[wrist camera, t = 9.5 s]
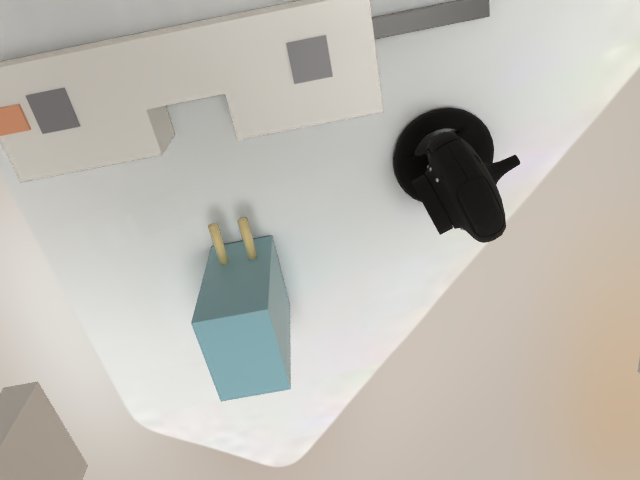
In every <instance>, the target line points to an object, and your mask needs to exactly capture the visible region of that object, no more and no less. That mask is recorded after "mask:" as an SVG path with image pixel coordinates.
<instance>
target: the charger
mask: <svg viewBox="0 0 640 480" xmlns="http://www.w3.org/2000/svg"><path fill="white" fill-rule="evenodd" d="M238 224H239V227H240V231H241V234H242V238H243V241H240V242H235V243H230V244H224V243H223V240H222V237H221V234H220V230H219V227H218V224H217V223H212V224H210V225H209V226H208V228H209V231H210V234H211V237H212V240H213V243H214V246H213V247H211V250H210V254H209V258H208V262H207V266H206V269H205V273H204V277H203V281H202V285H201V288H200V292H199V296H198V300H197V304H196V307H195V311H194V315H193V319H192V323H191V324H192V326H193V329H194V332H195V334H196V337H197V340H198V342H199V345H200V348H201V350H202V353H203V355H204V358H205V361H206V363H207V366H208V369H209V371H210V374H211V377H212V379H213V382H214V385H215V387H216V390H217V392H218V395H219V398H220V400H221V401H226V400H231V399H237V398H243V397H248V396H254V395H260V394H266V393H271V392H277V391H283V390H288V389H291V374H290V303H289V299H288V295H287V292H286V288H285V284H284V280H283V276H282V272H281V268H280V264H279V260H278V257H277V253H276V249H275V245H274V241H273V237H272V236H267V237H262V238H256V239H253V238H252V235H251V231H250V227H249V224H248V220H247V218H246V217H243V218H240V219H238Z"/></svg>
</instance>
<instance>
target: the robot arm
mask: <svg viewBox="0 0 640 480" xmlns="http://www.w3.org/2000/svg"><path fill="white" fill-rule="evenodd" d="M638 372H639V373H640V360H639V367H638ZM87 467H88V465H87V463H86V461H85V460H84V458H83V456H82V455H81V453H80V451H79V450H78V448H77V446H76V445H75V443H74V441H73V440H72V438H71V436H70V435H69V433H68V431H67V430H66V428H65V426H64V425H63V423H62V421H61V419H60V418H59V416H58V415H57V413H56V411H55V409H54V408H53V406H52V404H51V403H50V401H49V399H48V398H47V396H46V395H45V393H44V391H43V389H42V388H41V386H40V384H39V383H38V382H33V383H28V384H22V385H16V386H11V387H5V388H3V390H2V391H1V393H0V480H82V479H83V477H84V474H85V472H86V469H87Z"/></svg>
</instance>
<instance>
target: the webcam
mask: <svg viewBox="0 0 640 480" xmlns="http://www.w3.org/2000/svg"><path fill="white" fill-rule="evenodd" d="M445 128H453V129H457V130H459V133H458V134H457V135H456V134H455V133H453V132H451V131H449V132H443V133H439V134H438V135H436V136H435V137H433V138H432V139H431V140H430V141H429V143H428V152H427V153H426V154H424V155H421V156H414V152H415V149H416V147H417V146H418V144H419V143H420V142H421V141H422V139H423V138H425V137H426V136H427V135H428V134H430V133H432V132H434V131H436V130H439V129H445ZM493 157H494V146H493V140H492V137H491V135H490V132H489V130H488V129H487V127H486V126H485V124H484V123H483V122H482V121H481V120H480V119H479V118H477V117H476V116H474V115H473V114H471V113H469V112H467V111H464V110H461V109H454V108H443V109H437V110H433V111H430V112H428V113H425V114H423V115H421V116H420V117H418V118H417V119H416V120H414V121H413V122H412V123H411V124H410V125H409V126H408V127H407V128H406V129H405V130H404V132H403V133H402V135H401V137H400V138H399V141H398V143H397V146H396V150H395V154H394V158H393V159H394V171H395V175H396V178H397V180H398V183H399V184H400V186H401V187H402V188H403V190H404V191H405V192H406V193H407V194H408V195H410V196H411V197H412V198H414V199H416V200H418V201H420V202H423V204H424V206H425V208H426V210H427V212H428V214H429V215H430V217H431V219H432V221H433V223H434V225H435V226H436V228H437V230H438V232H439V234H440V235H441V234H443V233H444V232H446V231H448V230H450V229H452V228H453V227H454V228H455V229H456V228H461V230H466V231H467V232H468V233H469V234H470V235H471V236H472V237H473V238H474V239H476V240H477V241H479V242H483V243H484V242H490V241H493V240H495V239H496V238H498V237H499V236H501V235H502V234H503V232H504V230H505V228H506V222H505V212H504V208H503V204H502V199H501V197H500V194H499V191H498V189H497V186H496V184H497V182H498V180H499V179H500V178H501V177H502V176H503V175H504V174H506V173H507V172H508V171H510V170H511V169H513V168H514V167H516V166H518V165H519V164H520V161H519V159H518V157H517V156H516V155H514V156H511V157H509V158H507V159H504V160H502V161H500V162H495V163H493ZM452 225H453V226H452Z"/></svg>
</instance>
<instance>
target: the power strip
mask: <svg viewBox="0 0 640 480" xmlns="http://www.w3.org/2000/svg"><path fill="white" fill-rule="evenodd" d="M489 16H490V15H489V0H456V1H451V2H446V3H441V4H436V5H432V6H427V7H422V8H417V9H412V10H407V11H402V12H397V13H392V14H387V15H382V16H377V17H372V16H371V8H370V0H299V1H294V2H289V3H284V4H279V5H274V6H269V7H264V8H259V9H255V10H250V11H245V12H240V13H235V14H230V15H225V16H220V17H215V18H211V19H206V20H201V21H196V22H191V23H186V24H181V25H176V26H171V27H167V28H162V29H157V30H152V31H147V32H142V33H137V34H132V35H127V36H123V37H118V38H113V39H108V40H103V41H98V42H93V43H88V44H83V45H79V46H74V47H69V48H64V49H59V50H54V51H49V52H44V53H39V54H35V55H30V56H25V57H20V58H15V59H10V60H5V61H2V62H0V142H1V144H2V146H3V148H4V150H5V152H6V154H7V156H8V158H9V160H10V162H11V164H12V166H13V168H14V170H15V172H16V174H17V176H18V178H19V180H20V182H27V181H32V180H37V179H42V178H47V177H52V176H57V175H62V174H68V173H73V172H78V171H83V170H88V169H93V168H98V167H103V166H109V165H114V164H119V163H124V162H129V161H134V160H139V159H145V158H150V157H155V156H160V155H162V154H163V153H164V151H165V150H166V148H167V146H168V145H169V143H170V142H171V140H172V138H173V137H174V135H175V132H174V129H173V126H172V123H171V120H170V117H169V114H168V111H167V108H166V106H167V105H172V104H177V103H182V102H187V101H192V100H197V99H202V98H207V97H212V96H217V95H223V94H225V96H226V99H227V103H228V107H229V111H230V114H231V118H232V122H233V126H234V129H235V133H236V137H237V140H242V139H247V138H252V137H257V136H263V135H268V134H273V133H278V132H283V131H288V130H293V129H298V128H304V127H309V126H314V125H319V124H324V123H329V122H334V121H340V120H345V119H350V118H355V117H360V116H365V115H370V114H375V113H381V112H383V105H382V97H381V89H380V80H379V72H378V64H377V56H376V48H375V40H374V39H379V38H384V37H389V36H394V35H399V34H404V33H409V32H414V31H419V30H424V29H429V28H434V27H439V26H444V25H449V24H454V23H459V22H464V21H469V20H474V19H479V18H484V17H489Z"/></svg>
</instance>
